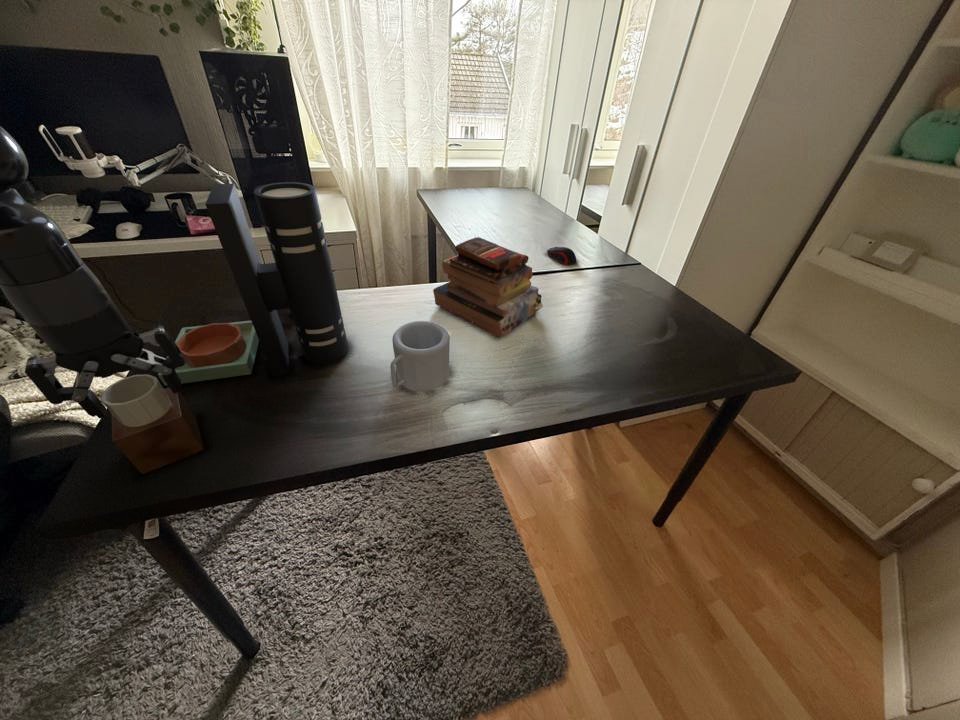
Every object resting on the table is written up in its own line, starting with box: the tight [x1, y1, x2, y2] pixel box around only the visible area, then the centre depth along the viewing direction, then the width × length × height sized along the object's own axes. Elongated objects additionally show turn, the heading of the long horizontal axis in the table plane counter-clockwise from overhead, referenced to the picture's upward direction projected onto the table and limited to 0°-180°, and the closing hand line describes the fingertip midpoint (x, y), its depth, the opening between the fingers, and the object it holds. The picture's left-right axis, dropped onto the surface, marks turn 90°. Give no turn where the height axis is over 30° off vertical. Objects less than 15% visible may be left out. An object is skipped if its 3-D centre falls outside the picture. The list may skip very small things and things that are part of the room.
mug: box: [390, 320, 451, 392], centre depth 73 cm, size 14×11×10 cm
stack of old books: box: [432, 236, 544, 339], centre depth 92 cm, size 23×18×17 cm
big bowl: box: [176, 322, 246, 368], centre depth 76 cm, size 11×11×4 cm
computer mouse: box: [546, 246, 577, 265], centre depth 125 cm, size 6×11×4 cm, turn 32°
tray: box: [157, 320, 260, 387], centre depth 77 cm, size 16×15×3 cm
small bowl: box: [100, 373, 171, 427], centre depth 54 cm, size 6×6×4 cm
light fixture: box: [204, 181, 350, 378], centre depth 69 cm, size 10×15×33 cm
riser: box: [111, 387, 205, 475], centre depth 58 cm, size 8×8×8 cm
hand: (141, 401), depth 54 cm, fingers open, 8 cm apart
